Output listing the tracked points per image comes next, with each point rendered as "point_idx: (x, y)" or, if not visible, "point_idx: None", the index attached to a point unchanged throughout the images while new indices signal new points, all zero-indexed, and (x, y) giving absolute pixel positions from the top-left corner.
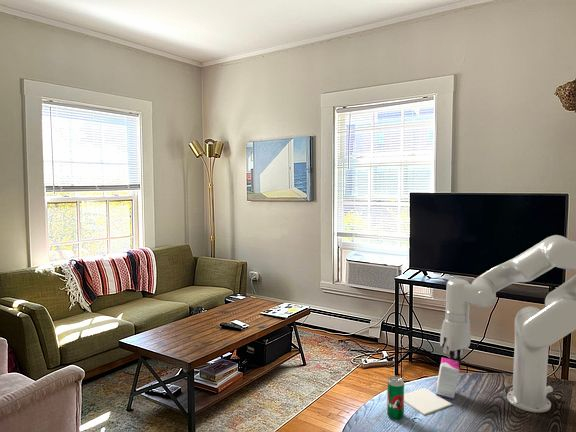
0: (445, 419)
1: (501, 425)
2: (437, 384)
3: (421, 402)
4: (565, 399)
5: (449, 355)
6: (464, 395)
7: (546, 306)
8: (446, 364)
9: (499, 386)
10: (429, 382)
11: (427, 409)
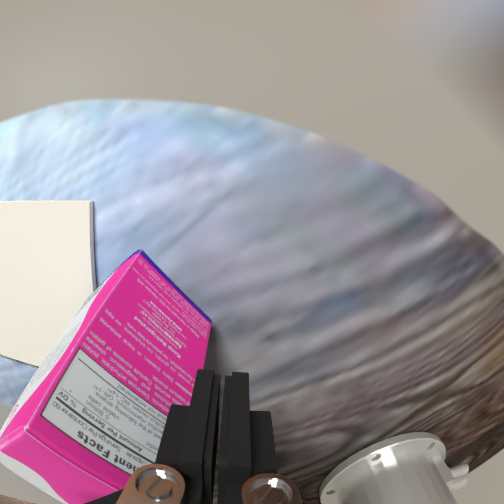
0: None
1: None
2: (76, 316)
3: (6, 297)
4: None
5: (139, 475)
6: (234, 366)
7: None
8: (28, 474)
9: (438, 379)
10: (179, 154)
11: (4, 343)
